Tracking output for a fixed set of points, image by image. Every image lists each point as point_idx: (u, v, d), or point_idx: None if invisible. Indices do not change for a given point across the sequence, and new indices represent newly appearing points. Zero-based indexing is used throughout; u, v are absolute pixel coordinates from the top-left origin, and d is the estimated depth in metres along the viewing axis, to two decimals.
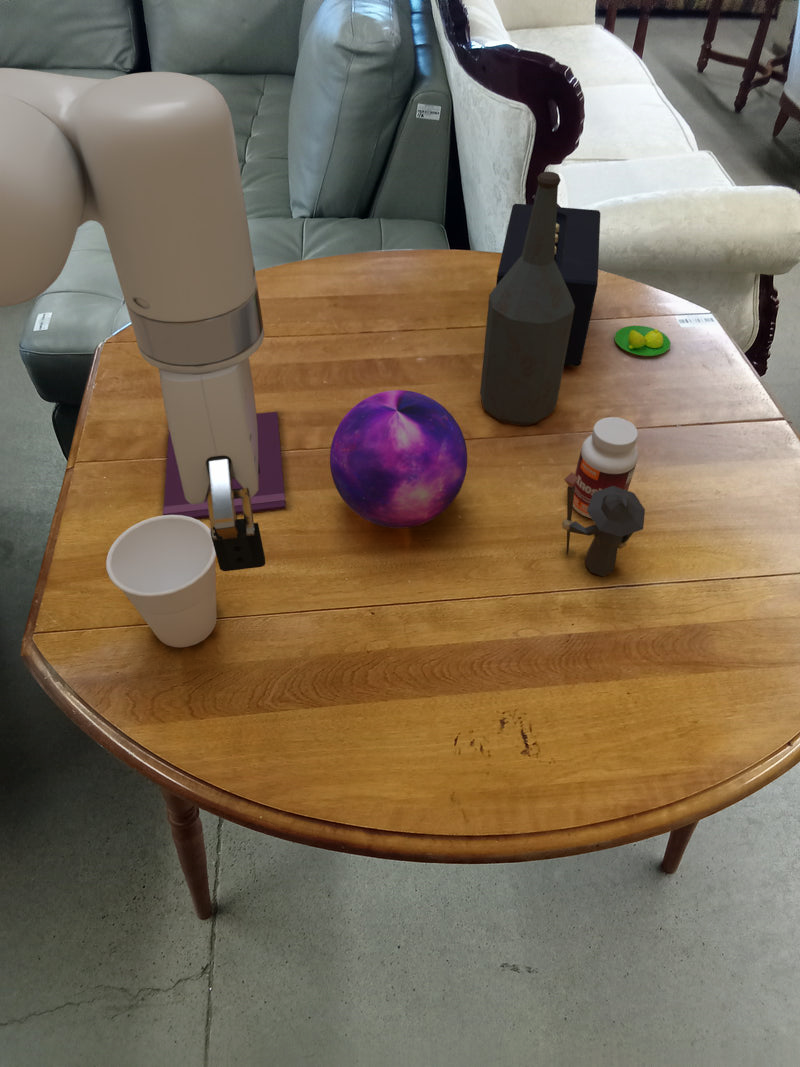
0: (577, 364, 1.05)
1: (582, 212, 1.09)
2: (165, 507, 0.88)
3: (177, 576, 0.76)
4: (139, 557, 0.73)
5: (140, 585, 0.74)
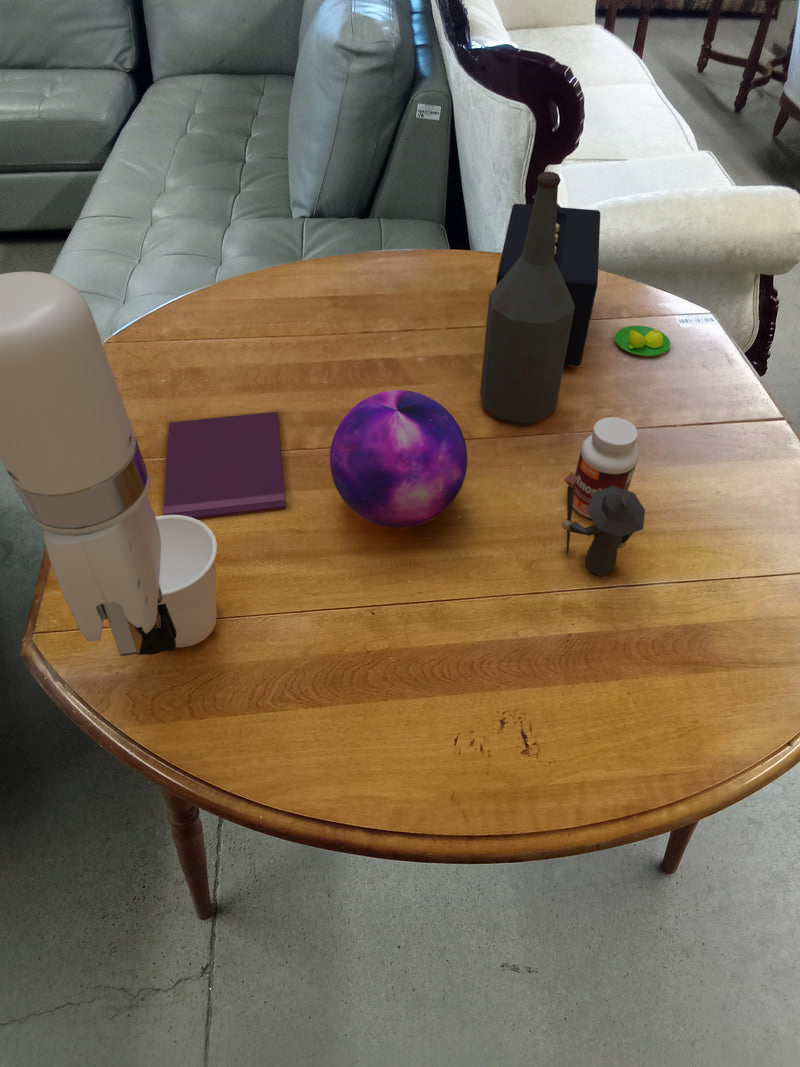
0: (577, 364, 1.05)
1: (582, 212, 1.09)
2: (165, 507, 0.88)
3: (177, 576, 0.76)
4: None
5: None
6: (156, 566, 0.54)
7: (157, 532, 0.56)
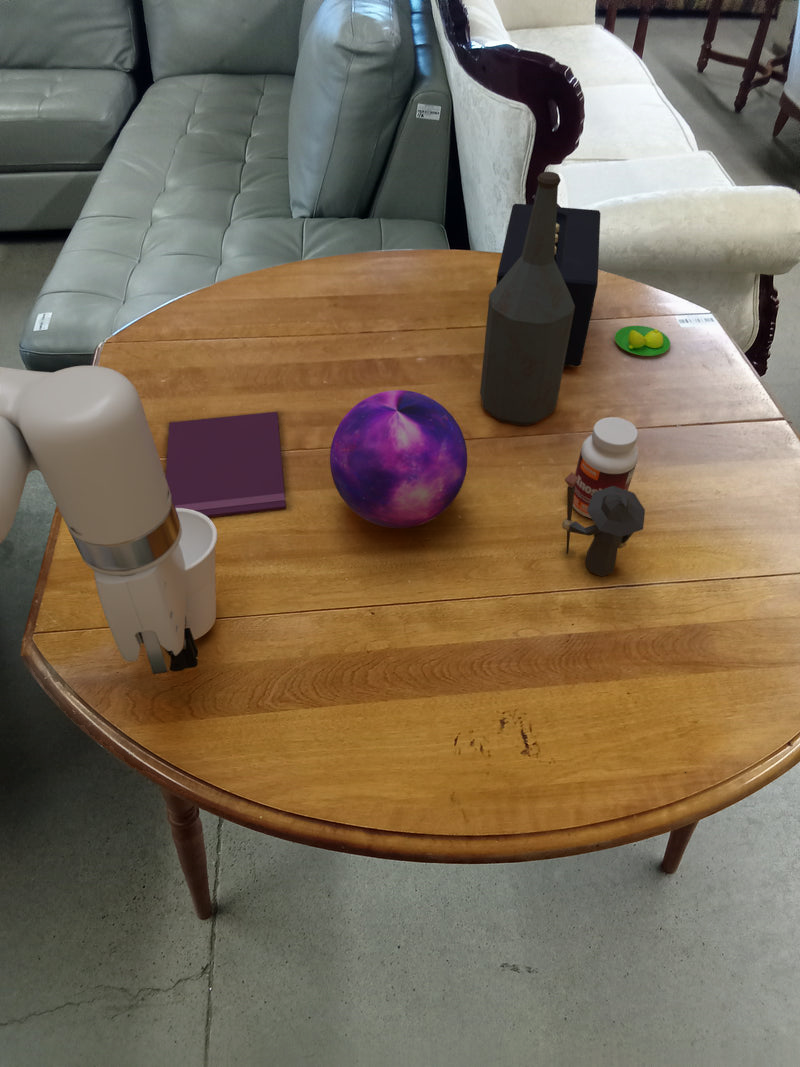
0: (577, 364, 1.05)
1: (582, 212, 1.09)
2: None
3: None
4: None
5: None
6: (184, 597, 0.63)
7: (184, 567, 0.65)
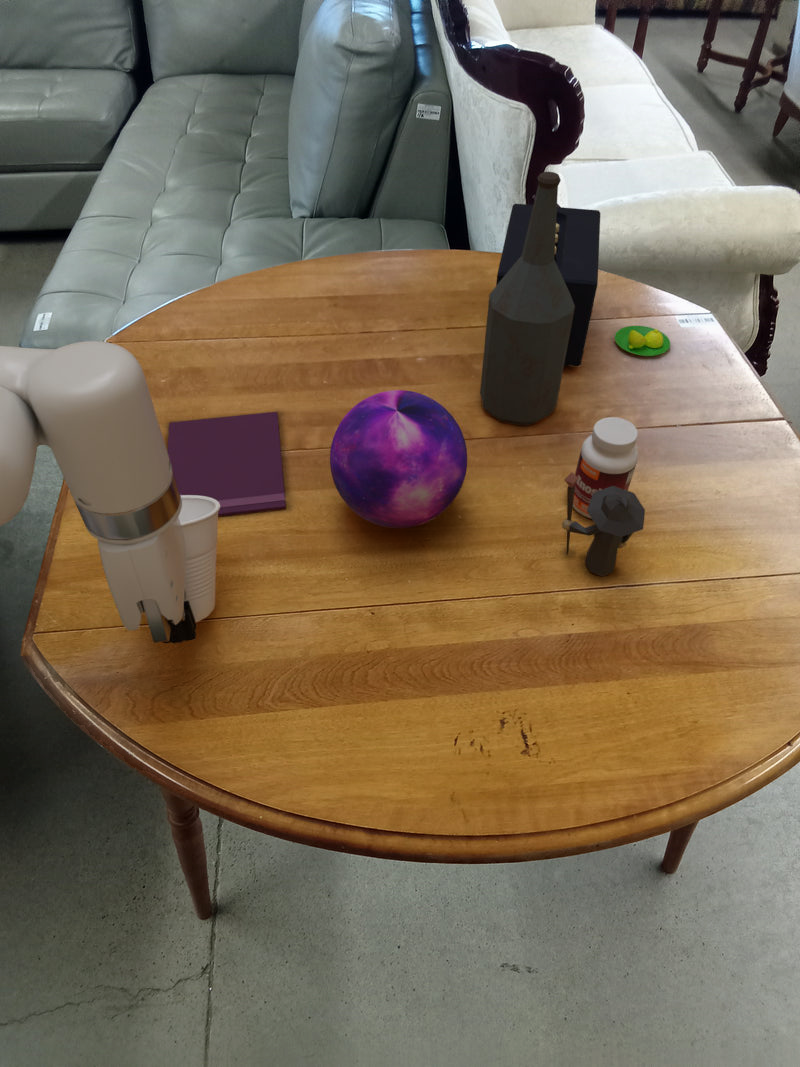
0: (577, 364, 1.05)
1: (582, 212, 1.09)
2: None
3: None
4: None
5: None
6: (183, 570, 0.65)
7: (183, 541, 0.68)
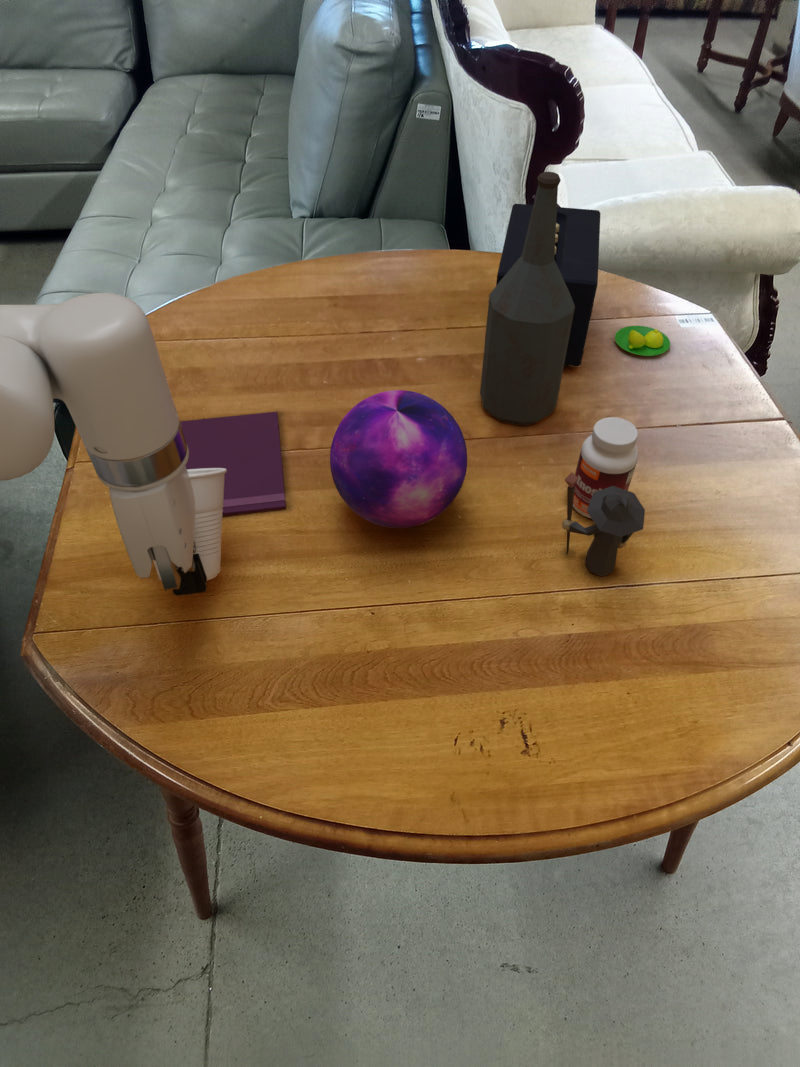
0: (577, 364, 1.05)
1: (582, 212, 1.09)
2: None
3: None
4: None
5: None
6: (192, 521, 0.68)
7: (192, 495, 0.70)
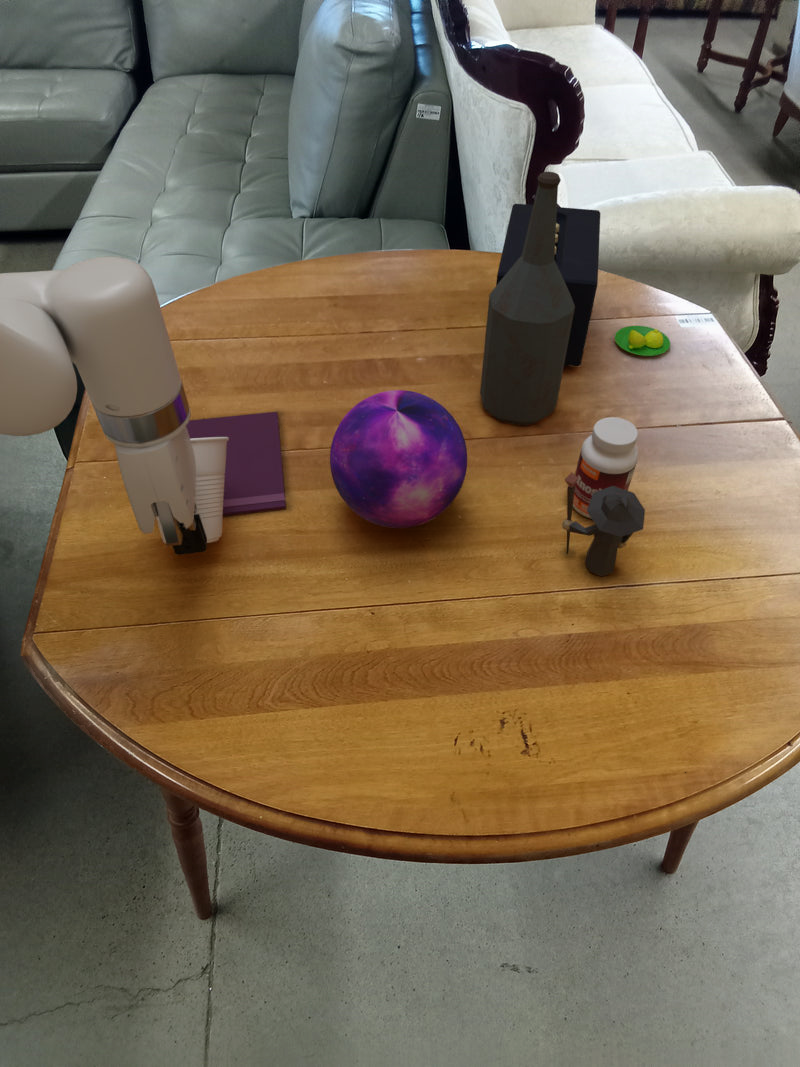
0: (577, 364, 1.05)
1: (582, 212, 1.09)
2: None
3: None
4: None
5: None
6: (193, 480, 0.71)
7: (193, 457, 0.74)
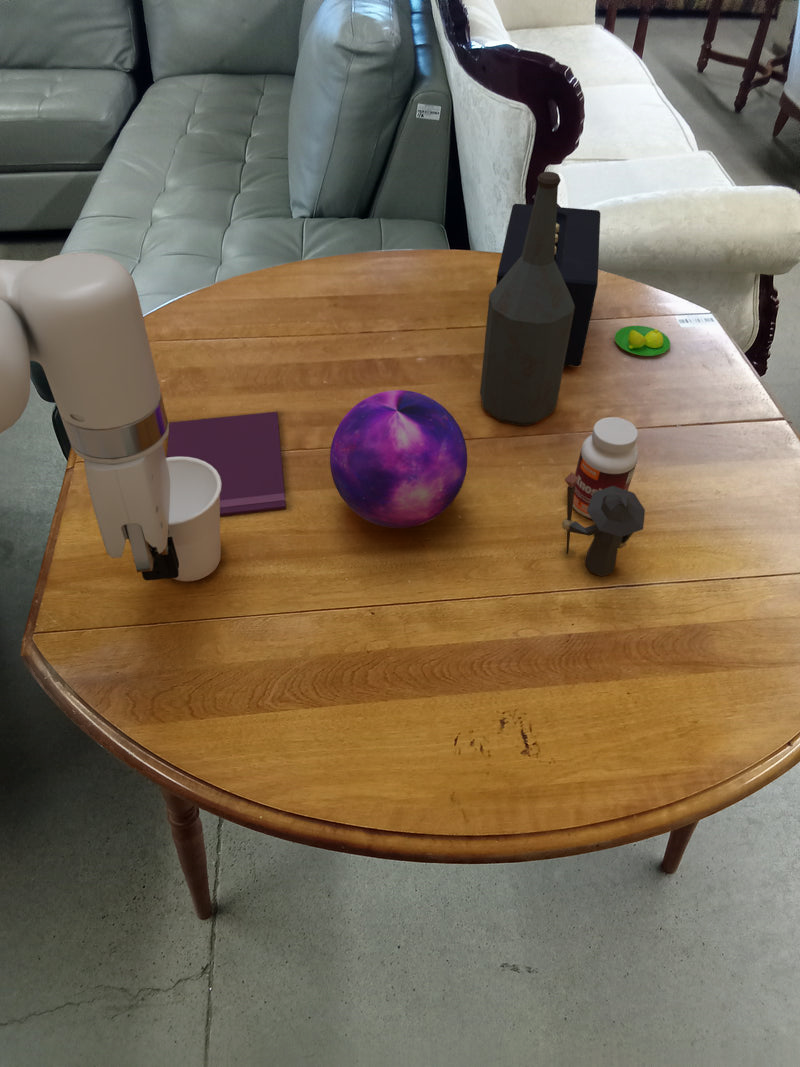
0: (577, 364, 1.05)
1: (582, 212, 1.09)
2: None
3: (183, 517, 0.82)
4: None
5: None
6: (168, 501, 0.65)
7: (168, 475, 0.68)
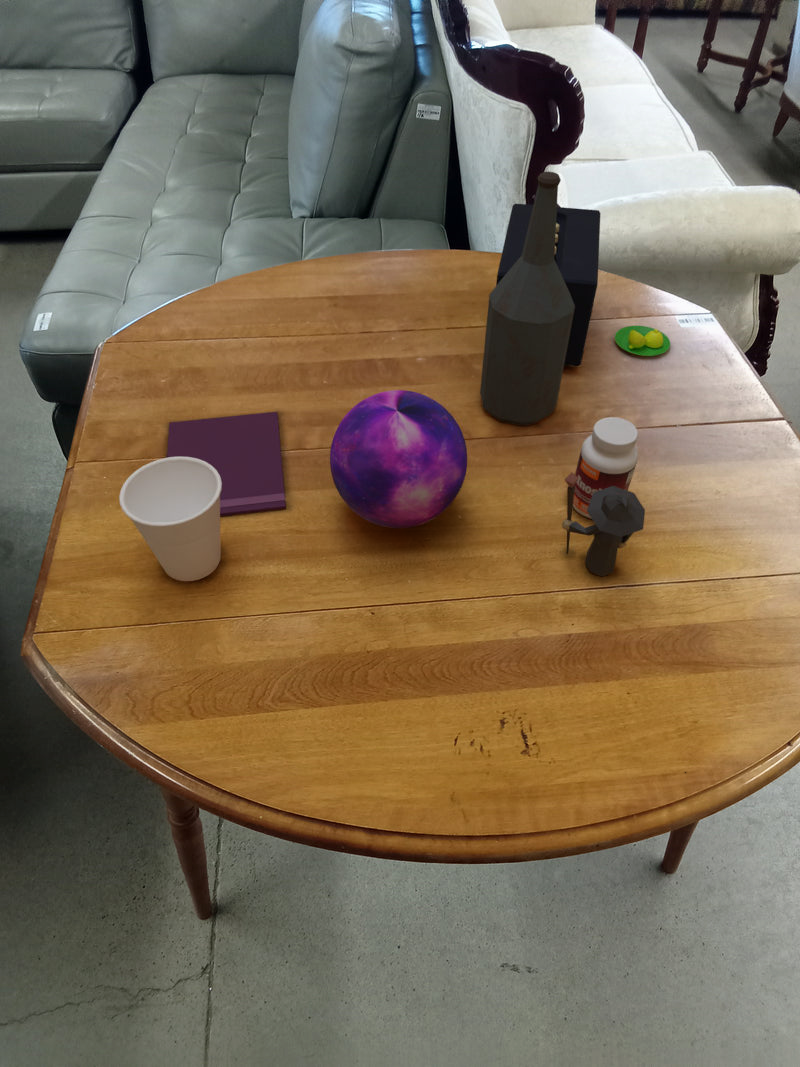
0: (577, 364, 1.05)
1: (582, 212, 1.09)
2: None
3: (183, 517, 0.82)
4: (149, 496, 0.78)
5: None
6: None
7: None
